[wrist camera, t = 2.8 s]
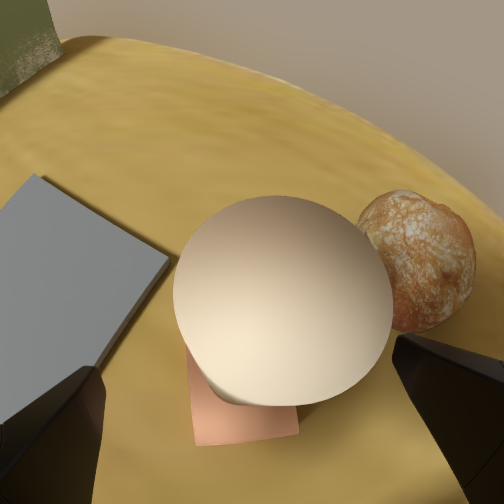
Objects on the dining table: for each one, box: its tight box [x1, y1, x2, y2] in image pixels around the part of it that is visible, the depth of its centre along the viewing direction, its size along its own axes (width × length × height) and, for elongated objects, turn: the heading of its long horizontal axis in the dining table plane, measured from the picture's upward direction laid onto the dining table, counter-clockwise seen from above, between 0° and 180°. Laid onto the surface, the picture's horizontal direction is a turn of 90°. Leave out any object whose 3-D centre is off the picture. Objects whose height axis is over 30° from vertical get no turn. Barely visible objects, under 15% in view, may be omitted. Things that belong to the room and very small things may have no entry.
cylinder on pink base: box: [173, 196, 393, 446], centre depth 10 cm, size 7×5×13 cm
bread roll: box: [356, 190, 476, 333], centre depth 18 cm, size 10×10×8 cm
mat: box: [0, 174, 170, 424], centre depth 15 cm, size 16×16×1 cm
